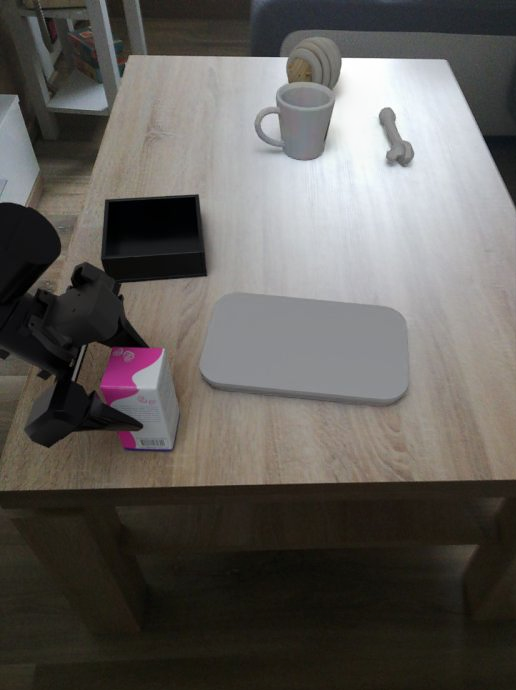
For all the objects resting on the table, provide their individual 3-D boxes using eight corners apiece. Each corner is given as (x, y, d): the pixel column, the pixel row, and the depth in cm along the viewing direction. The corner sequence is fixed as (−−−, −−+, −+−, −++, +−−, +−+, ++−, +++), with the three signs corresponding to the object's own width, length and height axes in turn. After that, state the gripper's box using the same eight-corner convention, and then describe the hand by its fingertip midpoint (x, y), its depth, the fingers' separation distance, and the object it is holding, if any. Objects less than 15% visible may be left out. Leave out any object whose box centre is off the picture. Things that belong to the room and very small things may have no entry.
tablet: (405, 412, 69) (408, 401, 67) (196, 392, 69) (194, 380, 68) (402, 320, 79) (406, 308, 77) (219, 302, 79) (218, 290, 77)
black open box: (108, 283, 81) (100, 258, 77) (111, 224, 89) (104, 199, 85) (207, 276, 82) (204, 251, 79) (201, 218, 91) (198, 193, 87)
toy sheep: (271, 105, 115) (271, 45, 106) (311, 75, 124) (314, 18, 115) (315, 120, 112) (319, 60, 103) (353, 88, 121) (360, 30, 112)
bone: (413, 170, 102) (417, 151, 99) (384, 169, 102) (388, 149, 99) (402, 121, 113) (405, 102, 110) (376, 120, 113) (379, 101, 110)
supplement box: (181, 411, 68) (167, 346, 58) (173, 452, 64) (157, 391, 55) (132, 409, 67) (111, 344, 58) (122, 450, 64) (97, 389, 55)
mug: (340, 158, 104) (346, 103, 96) (266, 174, 99) (265, 117, 91) (316, 131, 109) (319, 77, 101) (244, 145, 105) (242, 90, 97)
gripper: (13, 351, 41) (183, 438, 50) (75, 202, 52) (205, 295, 61) (-47, 412, 47) (115, 479, 56) (20, 266, 58) (146, 342, 67)
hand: (148, 392), depth 60 cm, fingers open, 9 cm apart
